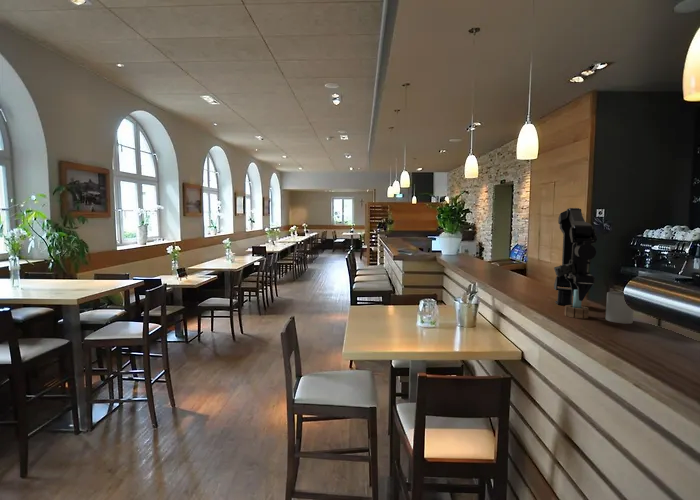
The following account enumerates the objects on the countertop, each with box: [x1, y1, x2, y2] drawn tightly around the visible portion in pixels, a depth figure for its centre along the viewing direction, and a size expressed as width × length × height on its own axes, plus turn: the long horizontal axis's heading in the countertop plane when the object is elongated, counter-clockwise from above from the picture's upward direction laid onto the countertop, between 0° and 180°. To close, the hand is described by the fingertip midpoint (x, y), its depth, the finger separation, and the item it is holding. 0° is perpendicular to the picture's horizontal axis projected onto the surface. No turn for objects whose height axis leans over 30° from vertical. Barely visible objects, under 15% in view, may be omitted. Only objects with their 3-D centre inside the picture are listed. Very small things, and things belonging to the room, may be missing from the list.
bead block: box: [564, 305, 590, 319], centre depth 156 cm, size 8×8×4 cm
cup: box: [604, 291, 635, 324], centre depth 150 cm, size 8×8×10 cm
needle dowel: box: [572, 290, 583, 308], centre depth 155 cm, size 3×3×10 cm
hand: (577, 298), depth 155 cm, fingers open, 9 cm apart
